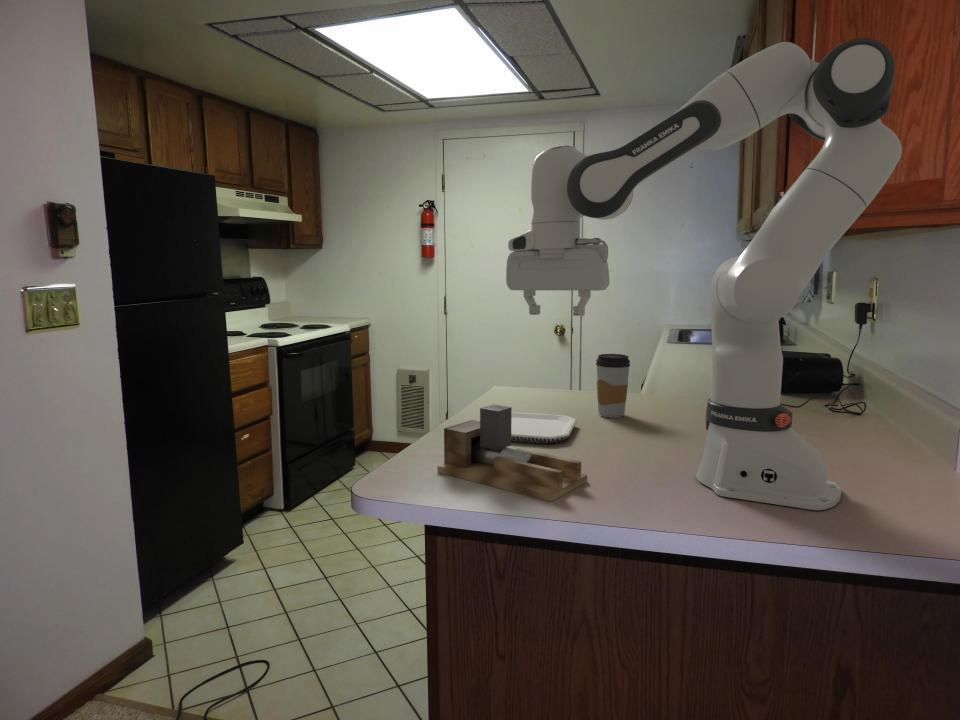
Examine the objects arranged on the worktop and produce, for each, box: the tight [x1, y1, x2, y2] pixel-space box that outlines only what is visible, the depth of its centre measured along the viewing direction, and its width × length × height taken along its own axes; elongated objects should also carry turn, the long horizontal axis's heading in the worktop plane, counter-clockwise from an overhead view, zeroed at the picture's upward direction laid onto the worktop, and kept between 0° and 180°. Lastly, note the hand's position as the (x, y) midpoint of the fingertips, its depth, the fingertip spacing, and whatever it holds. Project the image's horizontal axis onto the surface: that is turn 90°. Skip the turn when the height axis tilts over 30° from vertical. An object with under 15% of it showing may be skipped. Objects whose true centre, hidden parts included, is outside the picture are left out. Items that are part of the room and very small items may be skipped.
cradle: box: [437, 419, 588, 503], centre depth 114 cm, size 24×12×8 cm, turn 52°
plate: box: [511, 411, 578, 444], centre depth 146 cm, size 21×21×2 cm
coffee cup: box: [595, 353, 631, 419], centre depth 160 cm, size 8×8×15 cm
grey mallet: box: [471, 403, 534, 465], centre depth 116 cm, size 14×4×11 cm, turn 52°
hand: (556, 315), depth 121 cm, fingers open, 8 cm apart
